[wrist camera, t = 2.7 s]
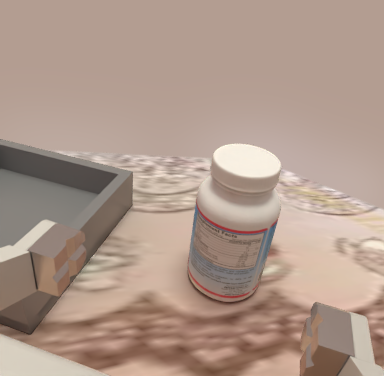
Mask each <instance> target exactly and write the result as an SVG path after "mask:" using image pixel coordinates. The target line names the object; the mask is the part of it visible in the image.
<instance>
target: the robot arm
mask: <svg viewBox="0 0 384 376" xmlns="http://www.w3.org/2000/svg"><path fill="white" fill-rule="evenodd" d="M84 241H85V233H84V232H83V231H80V230H77V229H74V228H71V227H68V226H65V225H62V224H59V223H55V222H52V221H49V220H47V219H46V220H43V221H41V222H40V223H39V224H37V225H36V226H35V227H34V228H33V229H32V230H31V231H30V232H28V233H27V234H26V235H25V236H24V237H23V238H22V239H20V240H19V241H18V242H17V243H16V244H15V245H14V246H10V245H8V246H5V247H2V248H0V311H1V310H3V309H5V308H7V307H8V306H10V305H12V304H14V303H16V302H18V301H20V300H21V299H23V298H25V297H27V296H29V295H31V294H33V293H35V292H36V291H37V290H39V291H42V292H45V293H48V294H51V295H55V296H58V297H59V296H60V295H61V293H62V292H63V291H64V290H65V288H66V287H67V286H68V285H69V283H70V277H71V276H73V275H76V274H77V273H78V272H79V271H80V269H81V268H82V266H83V264H84V262H85V258H86V249H85V247H84V246H83V244H82V243H83V242H84ZM301 349H302V351H303V352H304V354H303V356H302V358H301V360H300V376H384V370H383V369H382V368H381V366H379V365H376V364H375V360H374V355H373V349H372V343H371V337H370V331H369V326H368V320H367V318H366V317H365V316H362V315H359V314H355V313H352V312H348V311H345V310H342V309H338V308H335V307H332V306H328V305H325V304H321V303H318V302H315V303H314V304H313V306H312V309H311V317H309V318H307V319H306V322H305V324H304V327H303V331H302V336H301ZM0 376H110V375H108V374H105V373H102V372H100V371H97V370H94V369H92V368H89V367H87V366H84V365H81V364H79V363H76V362H73V361H71V360H68V359H66V358H63V357H60V356H58V355H55V354H52V353H50V352H47V351H45V350H42V349H39V348H37V347H34V346H31V345H29V344H26V343H24V342H21V341H18V340H16V339H13V338H10V337H8V336H5V335H3V334H0Z"/></svg>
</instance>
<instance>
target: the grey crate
mask: <svg viewBox="0 0 384 376" xmlns="http://www.w3.org/2000/svg"><path fill="white" fill-rule="evenodd" d="M132 189H133V172H131V171H127V170H123V169H119V168H115V167H111V166H107V165H103V164H99V163H95V162H91V161H87V160H83V159H79V158H75V157H71V156H67V155H63V154H59V153H55V152H51V151H47V150H42V149H38V148H34V147H30V146H26V145H22V144H18V143H14V142H10V141H6V140H2V139H0V248H2V247H5V246H8V245H10V246H14V245H15V244H16V243H17V242H18V241H19V240H20V239H22V238H23V237H24V236H25V235H26V234H27V233H28V232H30V231H31V230H32V229H33V228H34V227H35V226H36V225H37V224H39V223H40V222H41V221H43V220H46V219H47V220H49V221H52V222H55V223H59V224H62V225H65V226H68V227H71V228H74V229H77V230H80V231H83V232H84V233H85V241H84V242H83V243H82V244H83V246H84V247H85V249H86V258H85V262H84V264H83V266H82V268H83V267H84V266H85V264H86V263H87V262H88V261H89V259H90V258H91V257H92V256H93V254H94V253H95V252H96V250H97V249H98V248H99V247H100V245H101V244H102V243H103V242H104V240H105V239H106V238H107V236H108V235H109V234H110V233H111V231H112V230H113V229H114V227H115V226H116V225H117V224H118V222H119V221H120V220H121V219H122V217H123V216H124V215H125V213H126V212H127V211H128V210H129V208H130V207H131V206H132ZM82 268H81V269H80V271H81V270H82ZM80 271H79V272H80ZM79 272H78V273H79ZM78 273H77V274H76V275H73V276H71V277H70V283H69V285H70V284H71V282H72V281H73V280H74V278H75V277H76V276H77V275H78ZM69 285H68V286H69ZM68 286H67V287H68ZM67 287H66V288H65V290H66V289H67ZM65 290H64V291H65ZM64 291H63V292H64ZM63 292H62V293H61V295H62V294H63ZM61 295H60V296H61ZM60 296H59V297H58V296H55V295H51V294H48V293H45V292H42V291H39V290H37V291H36V292H35V293H33V294H31V295H29V296H27V297H25V298H23V299H21V300H20V301H18V302H16V303H14V304H12V305H10V306H8V307H7V308H5V309H3V310H1V311H0V324H3V325H6V326H9V327H11V328H14V329H17V330H20V331H22V332H25V333H28V334H31V333H32V332H33V331H34V329H35V328H36V327H37V326H38V324H39V323H40V322H41V320H42V319H43V318H44V317H45V315H46V314H47V313H48V312H49V310H50V309H51V308H52V306H53V305H54V304H55V303H56V301H57V300H58V299H59V298H60Z"/></svg>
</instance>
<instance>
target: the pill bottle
mask: <svg viewBox="0 0 384 376" xmlns="http://www.w3.org/2000/svg"><path fill="white" fill-rule="evenodd" d="M210 171H211V175H210V176H209V177H207V178H206V179H205V180H204V181H203V182H202V183H201V185H200V187H199V189H198V193H197V199H196V206H195V214H194V222H193V230H192V237H191V244H190V252H189V260H188V274H189V277H190V280H191V281H192V283H193V284H194V285H195V287H196V288H197V289H198V290H200V291H201V292H202V293H204V294H205V295H207V296H209V297H211V298H213V299H216V300H219V301H224V302H234V301H239V300H243V299H245V298H247V297H249V296H250V295H251V294H253V293H254V291H255V290H256V289H257V287H258V285H259V282H260V279H261V276H262V272H263V269H264V266H265V262H266V259H267V255H268V252H269V249H270V245H271V242H272V238H273V235H274V232H275V228H276V225H277V221H278V218H279V214H280V210H281V201H280V197H279V194H278V192H277V190H276V189H275V186H276V185H277V183H278V181H279V175H280V171H281V163H280V161H279V159H278V158H277V157H276V156H275V155H273V154H272V153H270V152H269V151H267V150H265V149H262V148H259V147H256V146H252V145H247V144H229V145H224V146H222V147H220V148H218V149H217V150H216V151H215V152H214V154H213V158H212V165H211V168H210Z"/></svg>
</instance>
